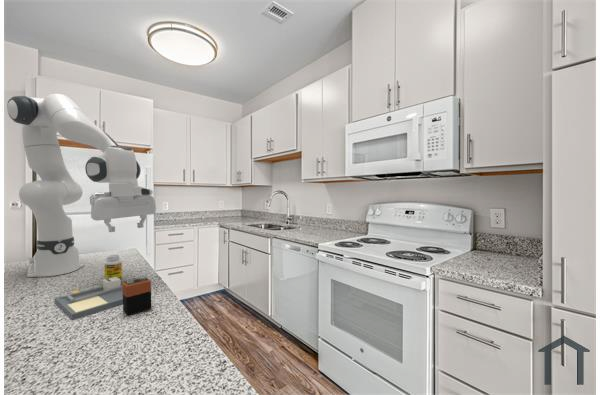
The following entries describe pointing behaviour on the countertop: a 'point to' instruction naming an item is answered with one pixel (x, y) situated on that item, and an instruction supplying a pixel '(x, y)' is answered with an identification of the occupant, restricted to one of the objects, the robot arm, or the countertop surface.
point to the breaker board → (89, 301)
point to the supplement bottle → (113, 267)
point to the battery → (136, 295)
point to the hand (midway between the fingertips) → (126, 229)
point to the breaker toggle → (111, 283)
